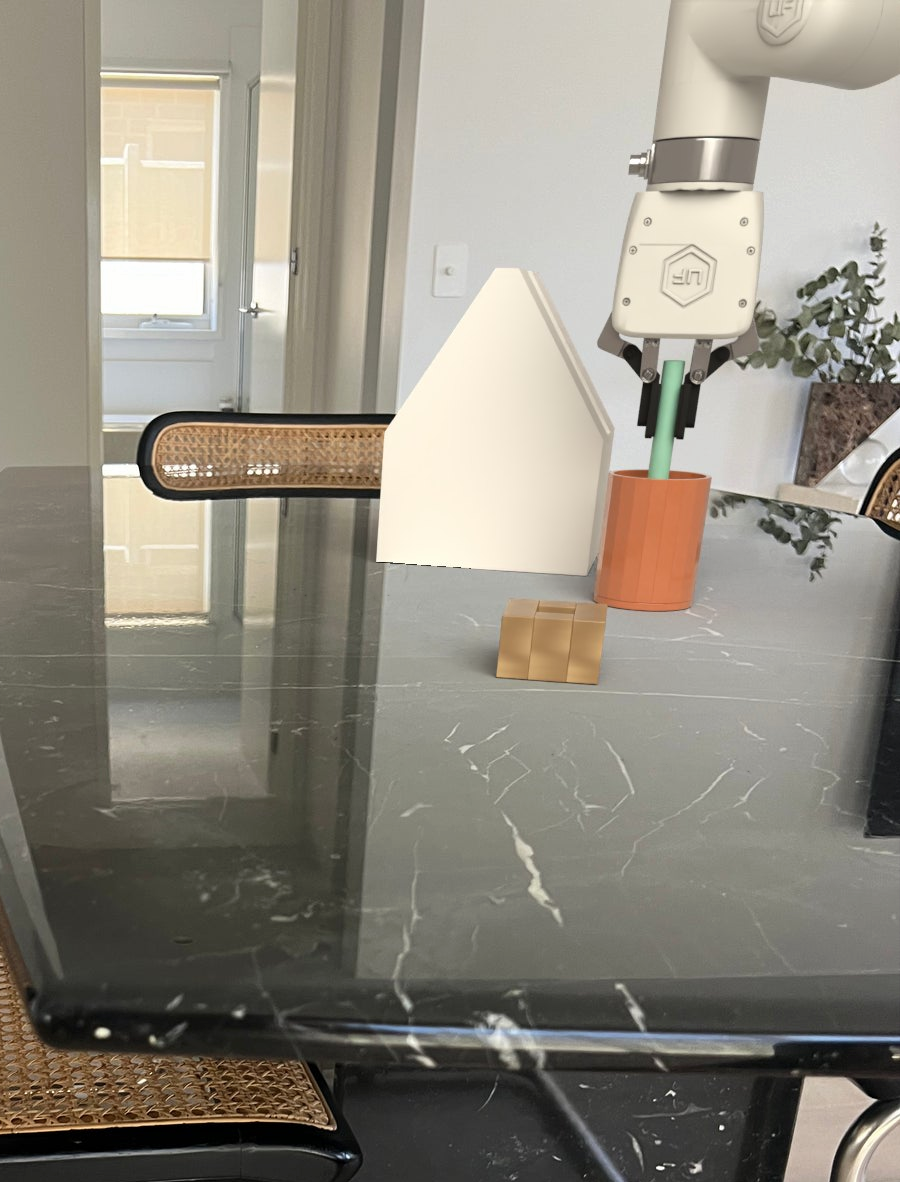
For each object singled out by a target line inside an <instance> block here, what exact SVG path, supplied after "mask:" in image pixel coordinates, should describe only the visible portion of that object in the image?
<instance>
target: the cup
mask: <svg viewBox="0 0 900 1182" xmlns="http://www.w3.org/2000/svg"><path fill="white" fill-rule="evenodd" d="M648 470H649V468H648V469H647V468H645V469H643V468H642V469H639V468H637V469H636V468H635V469H634V468H633V469H616V470H611V471H609V476H608V484H607V492H606V500H605V508H604V516H603V524H602V532H601V539H600V547H599V553H598V555H597V564H596V572H595V581H594V589H593V597H592V599H593V602H594V603H598V604H607V607H611V608H615V609H623V610H630V611H644V612H673V611H680V610H681V611H682V610H686V609H689V608H691V607H692V606H693V602H694V601H693V599H694V595H695V590H696V584H697V577H698V570H699V564H700V557H701V551H702V545H703V537H704V531H705V525H706V517H707V513H708V504H709V497H710V491H711V485H712V478H713V477H712V475H711V474H706V473H701V472H695V471H685V470H672V469H670V472H669V478H668V479H651V478H648Z"/></svg>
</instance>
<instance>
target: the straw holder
mask: <svg viewBox="0 0 900 1182" xmlns="http://www.w3.org/2000/svg"><path fill="white" fill-rule="evenodd" d="M607 614H608V606H607V604H599V603H597V602H581V601H580V602H579V601H577V602H576V601H565V600H564V601H562V600H547V599H530V598H514V597H513V598H512V597H510V598H509V600H508V602H507V604H506V607H505V609H504V611H503V613H502V614H501V615H502V616H501V624H500V635H499V643H498V653H497V654H498V655H497V664H496V674H495V677H496V678H500V679H512V680H513V679H514V680H515V679H516V680H527V681H541V682H555V683H568V684H569V683H571V684H585V685H598V684H599V679H600V672H601V671H600V670H601V663H602V655H603V654H602V653H603V648H604V639H605V630H606V623H607Z"/></svg>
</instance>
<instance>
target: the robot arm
mask: <svg viewBox="0 0 900 1182" xmlns="http://www.w3.org/2000/svg"><path fill="white" fill-rule="evenodd" d="M898 75H900V0H670V3H669V10H668V18H667V26H666V33H665V41H664V49H663V56H662V64H661V72H660V79H659V86H658V87H659V88H658V96H657V103H656V110H655V118H654V127H653V135H652V144H651V148H650V149H649V148H648V149H647V150H646V152H641V153H640V154H630V157H629V166H628V174H627V175H628V176H631V175H632V176H636V175H637V176H638V178H643V181H644V180H645V181H646V182H647V183H646V188H645V191H638V192H635V195H634V197H633V200H632V203H631V207H630V211H629V214H628V218H627V221H626V226H625V231H624V235H623V239H622V246H621V250H620V256H619V263H618V267H617V273H616V280H615V286H614V292H613V299H612V307H611V308H612V310H611V312H610V314H609V316H608V318H607V320H606V322H605V324H604V327H603V328H602V330H601V332H600V334H599V337H598V338H597V341H596V345H597V348H598V349H600V350H602V351H604V352H606V353H608V354H611V355H613V356H614V357H617V358H620V359H622V360H624V361H625V362H626V363H627V364H628V366H630V368H631V369H632V370H633V372H634V373H635V374H636V375H637V376H638V378H639V379H640V380H641V381H642V386H641V392H640V393H641V394H640V400H639V407H638V416H637V422H636V427H645V430H644V439H653V437H654V436H655V429H656V422H657V415H658V408H659V401H660V394H661V387H662V385H660V384H661V383H660V381H661V374H660V372H658V364H659V355H660V346H661V345H660V343H661V339H673V340H694V343H693V348H692V354H691V361H690V366H689V371H688V372H687V373H686V374H685V375H684V377H683V382H682V385H681V391H680V398H679V404H678V411H677V418H676V425H675V432H674V439H676V440H681V441H682V440H684V438H685V434H686V433H685V432H686V429H695V426H696V419H697V412H698V405H699V398H700V393H701V387H702V384H703V383H704V382H705V381H706V380H707V379H708V378H710V377H711V376H712V375H713V374H714V373H715V372H717V370H719V368H721V367H722V366H723V365H724V364H726V363H728V362H730V361H732V360H733V361H734V360H736V359H739V358H741V357H744V356H747V355H751V354H753V353H756V352H757V351H758V350H759V349H760V344H761V343H760V338H759V334H758V333H759V332H758V329H757V325H756V319H755V314H754V313H755V307H756V302H757V295H758V286H759V277H760V272H761V271H760V270H761V262H762V252H763V251H762V250H763V240H764V239H763V238H764V222H765V221H764V220H765V201H764V200H765V199H764V192H763V191H760V190H759V191H758V190H754V184H755V179H756V172H757V166H758V160H759V153H760V148H761V147H760V146H761V139H762V134H763V128H764V120H765V115H766V110H767V109H766V108H767V102H768V97H769V96H768V95H769V88H770V83H771V78H780V79H784V80H790V81H793V82H794V81H795V82H799V83H806V84H813V85H814V84H815V85H819V86H825V87H829V88H834V89H839V90H846V91H856V90H857V91H858V90H864V89H869V88H872V87H875V86H878V85H881V84H883V83H885V82H887V81H890V80H892V79H893V78H896V77H897V76H898ZM620 335H622V336H624V337H628V338H637V339H643V340H642V342H643V343H642V350H641V349H640V348H639V347H638V346H637V345H636V344H634V343H632V342H630V341H628V340H625V339H624V338H621V336H620ZM735 338H736V339H735ZM729 339H730V340H731V339H735V340H733V341H731V342H728V343H725V344H722V345H720V346H719V345H718V346H717V347H715V348H714V349H713V348H712V347H713V343H714V340H729ZM712 349H713V350H712Z"/></svg>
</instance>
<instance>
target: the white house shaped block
mask: <svg viewBox="0 0 900 1182" xmlns="http://www.w3.org/2000/svg"><path fill="white" fill-rule="evenodd" d="M615 428H616V427H615V426H614V424H613V422H612V420H611V418H610V415H609V413H608V411H607V409H606V408H605V405H604V404H603V401H602V400H601V397H600V395H599V393H598V391H597V389H596V387H595V385H594V383H593V381H592V379H591V377H590V375H589V373H588V371H587V369H586V366H585V364H584V362H583V361H582V358H581V356H580V354H579V352H578V350H577V347H576V346H575V344H574V342H573V340H572V338H571V336H570V334H569V331H568V330H567V328H566V326H565V323H564V322H563V319H562V318H561V316H560V314H559V311H558V309H557V307H556V305H555V304H554V301H553V299H552V297H551V295H550V293H549V291H548V288H547V287H546V285H545V283H544V280H543V279H542V276H541V275H540V273H539V272H538V271H534V270H528V269H525V268H520V267H495V268H494V270H493V272H492V273H491V274H490V275H489V277H488V279H487V280H486V281H485V283H484V284H483V286H482V287H481V289H480V290H479V291H478V293H477V295H476V296H475V298H474V299H473V301H472V302H471V304H470V305H469V307H468V308H467V310H466V311H465V313H464V314H463V315H462V317H461V318H460V320H459V322H458V323H457V324H456V326H455V327H454V329H453V330H452V332H451V334H450V335H449V336H448V338H447V339H446V341H445V342H444V344H443V345H442V347H441V348H440V349H439V351H438V352H437V354H436V355H435V357H434V358H433V360H432V361H431V363H430V365H428V367H427V369H426V370H425V371H424V373H423V375H422V376H421V377H420V379H419V380H418V382H417V383H416V385H415V386H414V388H413V390H412V391H411V392H410V393H409V395H408V397H407V398H406V400H405V401H404V403H403V404H402V405H401V407H400V408H399V410H398V411H397V413H396V414H395V416H394V418H393V419H392V420H391V422H390V423H389V425H388V426H387V428H386V429H385V431H384V432H383V433H384V434H383V435H384V436H383V438H384V439H383V451H382V463H381V465H382V466H381V478H380V479H381V480H380V495H379V496H380V497H379V499H380V500H379V513H378V525H377V526H378V528H377V543H376V544H377V545H376V559H375V563H376V562H393V563H405V564H404V565H406V564H417V565H416V566H421V565H431V566H430V567H437V566H446V567H445V568H453V567H461V568H460V569H469V568H471V569H470V570H485V571H486V570H487V571H504V572H518V573H519V572H520V573H536V574H551V575H566V576H580V577H581V576H583V577H587V576H588V574H589V572H590V571H591V568H592V566H593V564H594V562H595V560H597V558H598V555H599V547H600V539H601V532H602V524H603V516H604V508H605V500H606V492H607V484H608V476H609V472H610V468H611V460H612V452H613V443H614V436H615Z"/></svg>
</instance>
